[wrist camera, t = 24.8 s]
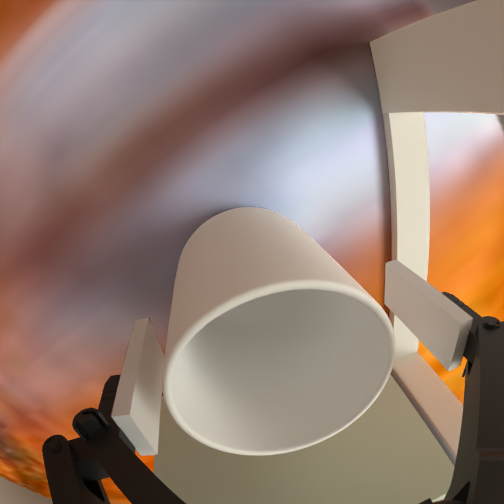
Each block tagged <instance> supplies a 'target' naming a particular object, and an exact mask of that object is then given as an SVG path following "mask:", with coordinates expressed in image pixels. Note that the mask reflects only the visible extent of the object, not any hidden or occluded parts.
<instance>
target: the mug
mask: <svg viewBox="0 0 504 504" xmlns="http://www.w3.org/2000/svg"><path fill="white" fill-rule="evenodd" d="M395 350H396V344H395V335H394V331H393V327H392V324H391V322H390V320H389V318H388V316H387V314H386V312H385V311H384V310H383V309H382V307H381V306H380V305H379V304H378V303H377V302H376V301H375V300H374V299H373V298H372V297H371V296H370V295H369V294H368V293H367V292H366V291H365V290H364V289H363V288H362V287H361V286H360V285H359V284H358V283H357V282H356V281H355V280H354V279H353V278H352V277H351V276H350V275H349V274H348V273H347V272H346V271H345V270H344V269H343V268H342V267H341V266H340V265H339V264H338V263H337V262H336V261H335V260H334V259H333V258H332V257H331V256H330V255H329V254H328V253H327V252H326V251H325V250H324V249H323V248H322V247H320V246H319V245H318V244H317V243H316V242H315V241H314V240H313V239H312V238H311V237H310V236H309V235H308V234H307V233H306V232H305V231H304V230H303V229H301V228H300V227H299V226H298V225H297V224H295V223H294V222H293V221H292V220H290V219H288V218H287V217H285V216H284V215H282V214H279V213H277V212H275V211H272V210H268V209H264V208H257V207H241V208H234V209H231V210H227V211H224V212H222V213H219V214H217V215H215V216H213V217H212V218H210V219H208V220H207V221H206V222H204V223H203V224H202V225H201V226H200V227H199V228H198V229H197V230H196V231H195V232H194V233H193V234H192V236H191V237H190V238H189V239H188V241H187V243H186V245H185V246H184V248H183V251H182V253H181V256H180V259H179V263H178V267H177V272H176V278H175V284H174V291H173V297H172V304H171V311H170V318H169V326H168V333H167V341H166V349H165V358H164V366H163V376H162V391H163V396H164V401H165V403H166V406H167V408H168V411H169V413H170V414H171V416H172V417H173V419H174V420H175V422H176V423H177V424H178V425H179V426H180V427H181V429H182V430H184V431H185V432H186V433H187V434H188V435H190V436H191V437H192V438H194V439H196V440H197V441H199V442H200V443H203V444H205V445H207V446H209V447H211V448H214V449H217V450H220V451H224V452H228V453H233V454H240V455H254V456H260V455H274V454H282V453H287V452H292V451H296V450H299V449H303V448H306V447H309V446H311V445H314V444H317V443H319V442H321V441H323V440H325V439H327V438H330V437H331V436H333V435H335V434H337V433H338V432H340V431H342V430H343V429H345V428H346V427H347V426H349V425H350V424H352V423H353V422H354V421H355V420H356V419H358V418H359V417H360V416H361V415H362V414H363V413H364V412H365V411H366V410H367V409H368V408H369V407H370V406H371V405H372V404H373V402H374V401H375V400H376V399H377V397H378V396H379V394H380V393H381V391H382V390H383V388H384V386H385V385H386V383H387V381H388V379H389V376H390V374H391V371H392V368H393V364H394V360H395Z"/></svg>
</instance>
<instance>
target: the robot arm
mask: <svg viewBox="0 0 504 504" xmlns="http://www.w3.org/2000/svg"><path fill="white" fill-rule="evenodd" d="M384 304H385V305H386V306H387V307H388V308H389V309H390V310H391V311H392V312H393V313H394V314H395V315H396V316H397V317H398V318H399V319H400V320H401V321H402V322H403V323H404V324H405V325H406V327H407V328H408V329H409V330H410V331H411V332H412V333H413V334H414V335H415V336H416V337H417V338H418V339H419V340H420V341H421V342H422V343H423V344H424V345H425V347H426V348H427V349H428V350H429V351H430V352H431V353H432V354H433V355H434V356H435V357H436V358H437V359H438V361H439V362H440V363H441V364H442V365H443V366H444V367H445V368H446V369H447V370H448V371H450V370H452V369H454V368H456V367H458V366H460V364H461V361H462V358H463V356H464V357H465V358H466V359H467V363H466V366H465V369H464V372H463V375H462V377H464V376H465V392H464V404H463V414H462V423H461V431H460V438H459V444H458V451H457V456H456V462H455V467H454V472H453V476H452V481H451V485H450V487H449V490H448V492H447V494H446V496H445V499H444V500H442V501H435V502H432V500H431V499H430V498H428V499H427V500H425V501H423V502H421V503H419V504H504V322H500V321H499V320H498V319H496V318H494V317H490V316H485V317H481V316H480V315H478V314H477V313H476V312H474V311H473V310H472V309H471V308H469V307H468V306H467V305H465V304H464V303H463V302H462V301H460V300H459V299H458V298H456V297H455V296H454V295H452V294H449V293H447V292H442V293H441V292H440V291H438V290H437V289H436V288H434V287H433V286H432V285H430V284H429V283H428V282H426V281H425V280H424V279H422V278H421V277H420V276H418V275H417V274H416V273H414V272H413V271H412V270H410V269H409V268H408V267H406V266H405V265H403V264H402V263H401V262H399V261H398V260H397V259H396V260H393V261H389V262H386V266H385V299H384ZM164 358H165V356H164V354H163V351H162V349H161V347H160V344H159V342H158V339H157V337H156V334H155V332H154V329H153V327H152V324H151V322H150V319H149V318H144V319H139V320H135V324H134V327H133V331H132V334H131V338H130V341H129V345H128V349H127V353H126V356H125V360H124V364H123V368H122V372H121V375H113V376H110V378H109V379H108V380H107V382H106V383H105V386H104V389H103V394H102V397H101V400H100V404H99V408H98V410H97V409H94V408H87V409H84V410H82V411H80V412H79V413H78V414H77V415H76V416H75V418H74V419H73V423H72V425H73V428H74V430H75V431H76V432H77V434H78V435H79V436H80V437H79V438H76V439H73V440H69V441H68V440H67V439H66V438H65V437H64V436H62V435H53V436H51V437H49V438H48V439H47V440H46V441H45V442H44V445H43V449H42V452H43V458H44V464H45V469H46V475H47V479H48V484H49V489H50V493H51V497H52V501H53V504H110V502H109V499H108V497H107V494H106V492H105V489H104V487H103V484H102V482H101V479H104V478H108V477H110V478H111V479H112V480H113V482H114V483H115V484H116V485H117V487H118V488H119V489H120V490H121V492H122V493H123V494H124V495H125V496H126V497H127V499H128V500H129V501H130V502H131V503H132V504H186V503H185V502H184V501H183V500H181V499H180V498H179V497H178V496H177V495H176V494H175V493H174V492H173V491H171V490H170V489H169V488H168V487H167V486H166V485H165V484H164V483H163V482H162V481H161V480H160V479H159V478H158V477H157V476H156V475H155V474H154V473H153V472H152V471H151V470H150V469H149V468H148V467H147V466H146V465H145V464H144V463H143V462H142V461H141V460H140V459H139V458H138V457H137V456H136V455H135V449H136V450H137V451H138V453H139V454H140V455H141V456H144V455H158V439H159V422H160V408H161V396H162V376H163V366H164Z"/></svg>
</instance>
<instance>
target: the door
mask: <svg viewBox="0 0 504 504" xmlns="http://www.w3.org/2000/svg"><path fill="white" fill-rule="evenodd" d="M455 462H456V456H455V454H454V453H453V452H452V450H451V449H450V447H449V446H448V444H447V443H446V441H445V440H444V439H443V437H442V436H441V434H440V433H439V431H438V430H437V429H436V427H435V426H434V424H433V423H432V422H431V420H430V419H429V417H428V416H427V414H426V413H425V412H424V410H423V409H422V408H421V406H420V405H419V403H418V402H417V401H416V399H415V398H414V396H413V395H412V394H411V392H410V391H409V390H408V388H407V387H406V386H405V384H404V383H403V382H402V380H401V379H400V377H399V376H398V375H397V373H396V372H395V371H394V369H393V368H392V371H391V374H390V376H389V379H388V381H387V383H386V385H385V386H384V388H383V390H382V391H381V393H380V394H379V396H378V397H377V399H376V400H375V401H374V402H373V404H372V405H371V406H370V407H369V408H368V409H367V410H366V411H365V412H364V413H363V414H362V415H361V416H360V417H359V418H358V419H356V420H355V421H354V422H353V423H352V424H350V425H349V426H347V427H346V428H345V429H343V430H342V431H340V432H338V433H337V434H335V435H333V436H331V437H330V438H327V439H325V440H323V441H321V442H319V443H317V444H314V445H311V446H309V447H306V448H303V449H299V450H296V451H292V452H287V453H282V454H274V455H260V456H254V455H240V454H233V453H228V452H224V451H220V450H217V449H214V448H211V447H209V446H207V445H205V444H203V443H200V442H199V441H197V440H196V439H194V438H192V437H191V436H190V435H188V434H187V433H186V432H185V431H184V430H182V429H181V427H180V426H179V425H178V424H177V423H176V422H175V420H174V419H173V417H172V416H171V414H170V413H169V411H168V408H167V406H166V403H165V401H164V396H161V408H160V422H159V439H158V455H155V459H154V474H155V475H156V476H157V477H158V478H159V479H160V480H161V481H162V482H163V483H164V484H165V485H166V486H167V487H168V488H169V489H170V490H171V491H173V492H174V493H175V494H176V495H177V496H178V497H179V498H180V499H181V500H183V501H184V502H185V503H186V504H419V503H421V502H423V501H425V500H427V499H428V498H430V499H431V500H432V502H435V501H440V500H441V499H443V498H445V496H446V494H447V492H448V490H449V487H450V485H451V481H452V476H453V472H454V467H455Z"/></svg>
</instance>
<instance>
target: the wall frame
mask: <svg viewBox="0 0 504 504" xmlns="http://www.w3.org/2000/svg"><path fill="white" fill-rule="evenodd" d="M369 43H370V47H371V52H372V57H373V61H374V66H375V72H376V77H377V83H378V88H379V94H380V101H381V107H382V114H383V122H384V130H385V138H386V147H387V158H388V169H389V183H390V201H391V232H392V261H393V260H396V259H397V260H398V261H399V262H401V263H402V264H403V265H405V266H406V267H408V268H409V269H410V270H412V271H413V272H414V273H416V274H417V275H418V276H420V277H421V278H422V279H424V280H425V281H426V282H427V271H428V257H429V234H430V185H429V163H428V148H427V137H426V127H425V118H424V112H458V113H485V114H501V115H504V0H479V1H475V2H472V3H468V4H465V5H462V6H459V7H456V8H453V9H450V10H447V11H444V12H441V13H438V14H436V15H433V16H430V17H428V18H425V19H422V20H420V21H417V22H415V23H412V24H410V25H407V26H405V27H403V28H400V29H398V30H395V31H393V32H391V33H389V34H386V35H384V36H382V37H380V38H377V39H375V40H373V41H371V42H369ZM389 320H390V322H391V324H392V327H393V331H394V335H395V344H396V350H395V360H394V364H393V369H394V371H395V372H396V373H397V375H398V376H399V377H400V379H401V380H402V382H403V383H404V384H405V386H406V387H407V388H408V390H409V391H410V392H411V394H412V395H413V396H414V398H415V399H416V401H417V402H418V403H419V405H420V406H421V408H422V409H423V410H424V412H425V413H426V414H427V416H428V417H429V419H430V420H431V422H432V423H433V424H434V426H435V427H436V429H437V430H438V431H439V433H440V434H441V436H442V437H443V439H444V440H445V441H446V443H447V444H448V446H449V447H450V449H451V450H452V452H453V453H454V454H455V456H457V451H458V444H459V438H460V431H461V423H462V414H463V405H462V404H461V402H460V401H459V400H458V399H457V398H456V396H455V395H454V394H453V393H452V392H451V390H450V389H449V388H448V387H447V386H446V384H445V383H444V382H443V381H442V380H441V379H440V377H439V376H438V375H437V374H436V373H435V372H434V370H433V369H432V368H431V367H430V366H429V365H428V364H427V362H426V361H425V360H424V359H423V358H422V357H421V356H420V354H419V353H418V352H417V350H418V344H419V339H418V338H417V337H416V336H415V335H414V334H413V333H412V332H411V331H410V330H409V329H408V328H407V327H406V325H405V324H404V323H403V322H402V321H401V320H400V319H399V318H398V317H397V316H396V315H395V314H394V313H393V312H392V311H391V310H390V313H389Z"/></svg>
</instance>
